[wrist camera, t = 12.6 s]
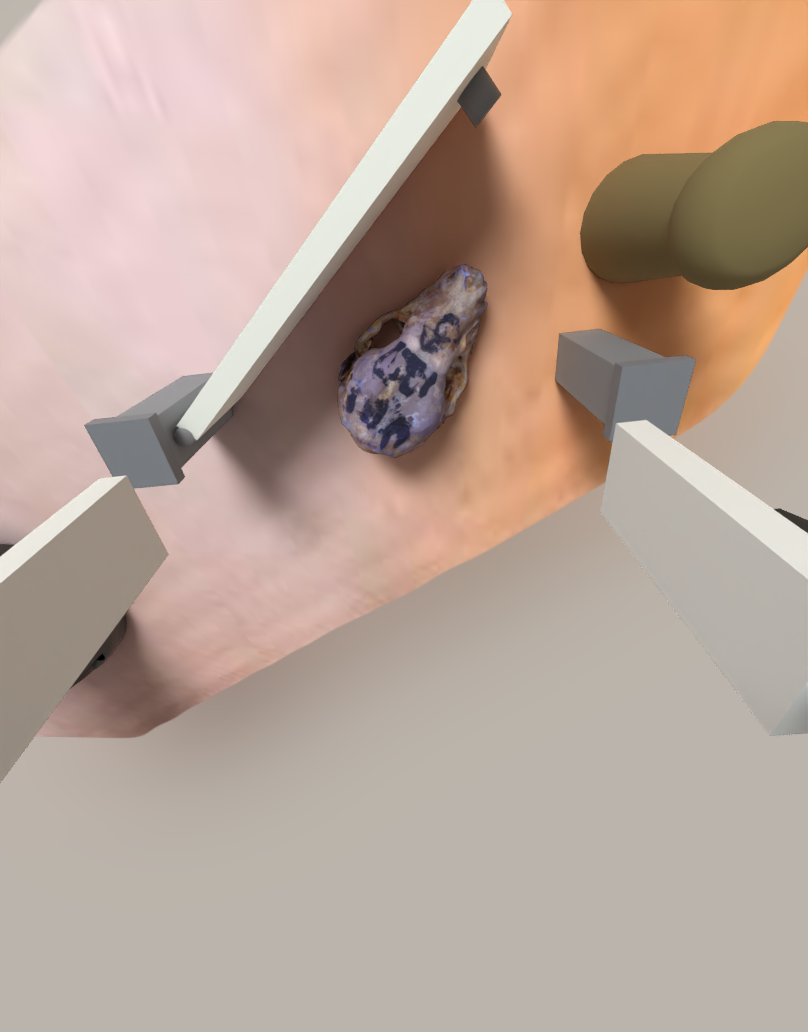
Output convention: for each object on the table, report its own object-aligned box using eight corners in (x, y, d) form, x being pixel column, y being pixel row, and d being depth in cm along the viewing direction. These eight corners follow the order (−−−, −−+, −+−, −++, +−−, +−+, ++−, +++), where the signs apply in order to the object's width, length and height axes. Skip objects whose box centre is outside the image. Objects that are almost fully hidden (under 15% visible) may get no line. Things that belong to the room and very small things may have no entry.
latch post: (550, 384, 29) (609, 441, 21) (555, 329, 27) (622, 366, 19) (597, 379, 29) (675, 434, 20) (605, 323, 27) (696, 359, 18)
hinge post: (196, 422, 30) (119, 489, 22) (176, 372, 28) (84, 425, 20) (239, 418, 30) (178, 484, 22) (222, 367, 28) (147, 418, 20)
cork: (584, 166, 22) (711, 112, 13) (701, 142, 22) (919, 69, 13) (576, 291, 26) (674, 318, 16) (679, 273, 25) (838, 291, 16)
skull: (442, 231, 24) (453, 228, 19) (525, 329, 27) (554, 349, 22) (319, 385, 29) (301, 415, 24) (400, 453, 32) (400, 494, 27)
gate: (250, 416, 30) (207, 465, 23) (220, 393, 29) (167, 437, 22) (493, 108, 21) (534, 47, 14) (461, 60, 20) (490, -27, 13)
